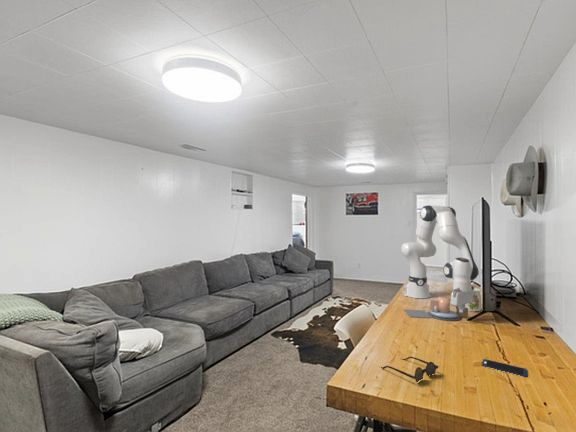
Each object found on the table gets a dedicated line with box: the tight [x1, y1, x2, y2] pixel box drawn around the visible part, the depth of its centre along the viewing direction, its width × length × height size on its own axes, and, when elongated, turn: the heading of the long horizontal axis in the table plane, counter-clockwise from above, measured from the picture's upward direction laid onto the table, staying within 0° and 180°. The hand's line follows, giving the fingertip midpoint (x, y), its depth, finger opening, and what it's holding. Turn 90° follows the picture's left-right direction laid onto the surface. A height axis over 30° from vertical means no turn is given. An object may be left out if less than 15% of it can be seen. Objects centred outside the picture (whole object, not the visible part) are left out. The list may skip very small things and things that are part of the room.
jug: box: [428, 296, 451, 314], centre depth 183 cm, size 6×12×8 cm, turn 81°
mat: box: [402, 309, 433, 319], centre depth 186 cm, size 14×12×1 cm
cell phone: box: [481, 358, 528, 378], centre depth 119 cm, size 7×14×1 cm, turn 54°
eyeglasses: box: [380, 356, 439, 383], centre depth 116 cm, size 15×15×5 cm
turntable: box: [429, 306, 469, 319], centre depth 183 cm, size 20×14×5 cm
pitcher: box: [465, 287, 482, 312], centre depth 196 cm, size 11×18×14 cm, turn 61°
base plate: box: [427, 311, 462, 322], centre depth 183 cm, size 17×17×1 cm
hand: (461, 312), depth 179 cm, fingers closed
